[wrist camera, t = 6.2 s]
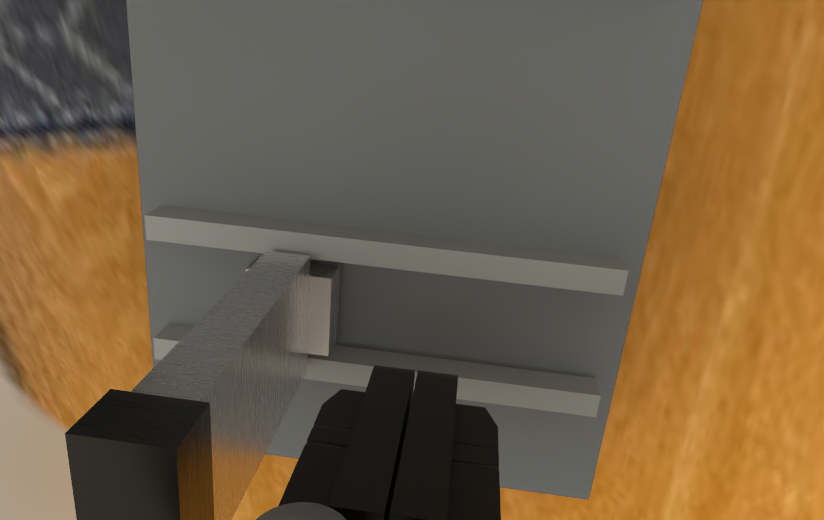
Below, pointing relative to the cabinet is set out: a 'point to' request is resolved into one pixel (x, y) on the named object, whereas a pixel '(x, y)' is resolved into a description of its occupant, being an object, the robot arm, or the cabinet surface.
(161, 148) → the control panel
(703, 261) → the cabinet surface
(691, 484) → the cabinet surface
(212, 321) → the slide paddle
